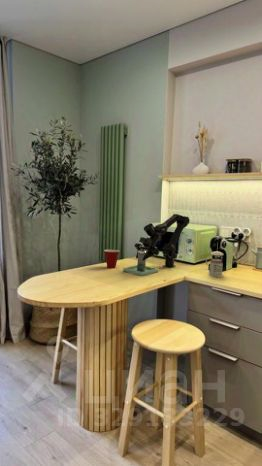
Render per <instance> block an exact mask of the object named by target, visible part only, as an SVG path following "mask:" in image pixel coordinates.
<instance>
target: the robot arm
mask: <svg viewBox="0 0 262 466" xmlns="http://www.w3.org/2000/svg"><path fill="white" fill-rule="evenodd" d="M175 223H176V227H175V230H173V233H172V235H171V237H170V238H169V239H170V240H169V242H168V243H165V244H164V245H163V247H162V250H161V253H162V257H163V258H165V261H164V265H162V266H163V267H166V268H171V269H172V268H174V267H176V265H175V260H176V259H177V257H178V255H177V253H176V245H177V243H178V241H179V238H180V237H181V235H182V232H183V230H184V229H185V228H186V227H187V226H189V223H190V217H189V216H185V215H181V214H179V213H173V214H172V216H170V217H169V218H168V219H166V220H165V221H163V222H162V223H158V224H156V225H155V226H154V224H153V223H148V224H146V225H145V226H143V231H144V232H145V233H146V235H147V236H148V237H144V236H143V237H142V236H141V237H140V238H139V241H138V242H139V243H137V242H136V243H135V244H134V245H133V246H134V248H135V249H136V250H137V252H136V256H135V259H136V260H138V250H145V251H147V253H146V254H145V256H144V258H143V260H146V261H147V259H150V258H151V257H154V256H158V255H159V254H160V250H159V249H158V247H157V242H158V241H162V236H161V235H163V236H164V235H165V234H166V233H167V232H168V229H169V228H170V227H171V226H172V225H174V224H175Z"/></svg>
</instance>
